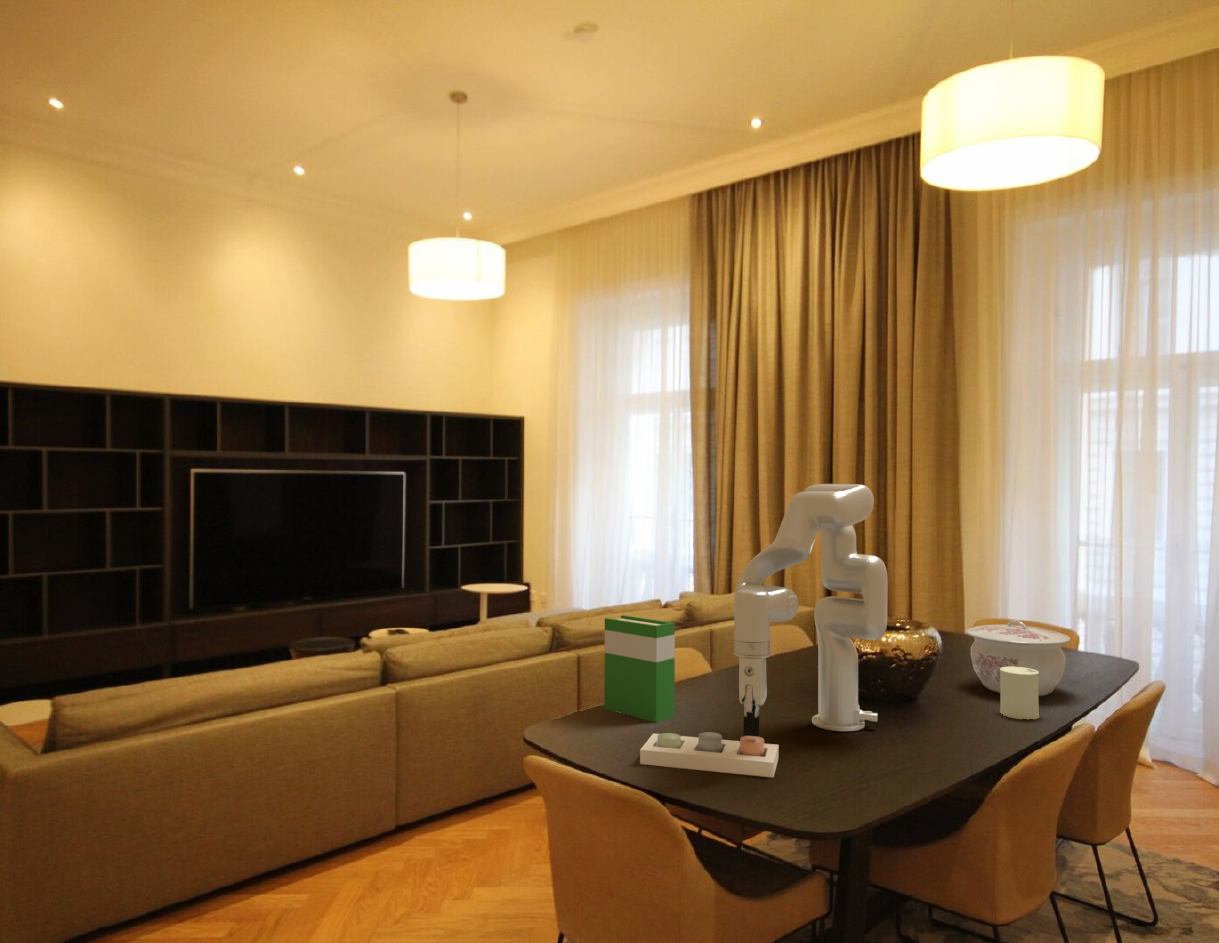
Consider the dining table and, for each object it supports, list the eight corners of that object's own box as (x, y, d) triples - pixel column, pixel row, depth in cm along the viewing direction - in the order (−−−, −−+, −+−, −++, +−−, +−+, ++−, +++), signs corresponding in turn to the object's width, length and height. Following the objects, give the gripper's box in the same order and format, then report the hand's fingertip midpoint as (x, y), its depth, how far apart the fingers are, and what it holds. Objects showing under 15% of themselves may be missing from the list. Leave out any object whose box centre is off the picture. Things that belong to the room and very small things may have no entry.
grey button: (723, 751, 179) (723, 733, 180) (719, 759, 175) (719, 740, 175) (700, 749, 181) (700, 731, 181) (696, 756, 176) (696, 737, 176)
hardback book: (604, 709, 218) (604, 618, 219) (622, 703, 224) (623, 615, 224) (656, 722, 207) (656, 626, 207) (674, 716, 212) (674, 622, 212)
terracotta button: (765, 755, 177) (765, 736, 177) (762, 763, 172) (762, 743, 172) (741, 753, 178) (741, 734, 178) (738, 760, 174) (738, 741, 174)
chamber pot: (1071, 709, 219) (1070, 631, 219) (959, 696, 233) (959, 622, 233) (1072, 687, 243) (1071, 616, 244) (971, 676, 257) (970, 609, 257)
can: (1044, 720, 209) (1044, 673, 209) (1005, 718, 211) (1004, 671, 211) (1033, 711, 218) (1033, 665, 218) (995, 709, 220) (995, 663, 220)
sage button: (682, 752, 182) (682, 734, 182) (678, 759, 177) (678, 740, 177) (660, 750, 183) (660, 732, 183) (655, 757, 179) (655, 738, 179)
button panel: (778, 758, 180) (778, 744, 180) (773, 777, 168) (773, 762, 168) (653, 746, 187) (653, 733, 188) (640, 763, 176) (640, 749, 176)
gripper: (766, 656, 167) (765, 747, 167) (773, 642, 182) (772, 726, 181) (729, 653, 169) (728, 743, 169) (738, 640, 184) (738, 723, 183)
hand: (751, 734), depth 175 cm, fingers closed
